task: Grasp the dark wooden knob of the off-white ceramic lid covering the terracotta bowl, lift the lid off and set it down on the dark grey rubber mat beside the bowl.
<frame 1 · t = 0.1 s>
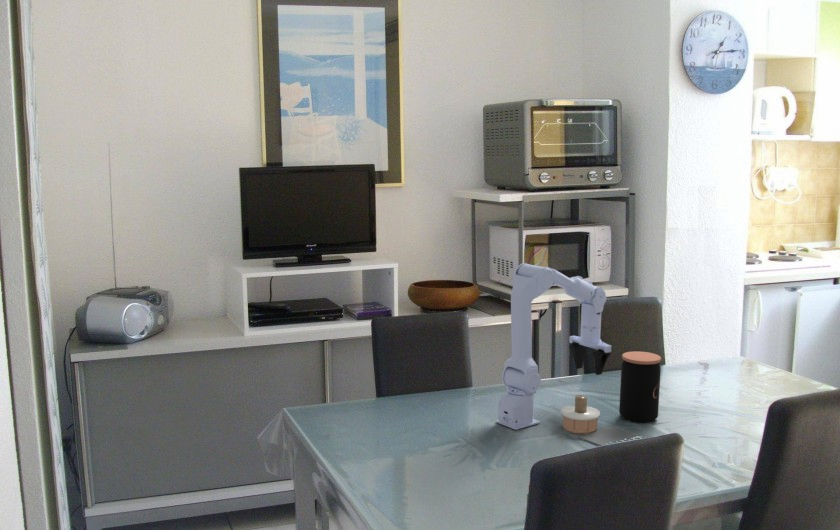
hand: (588, 371, 251), 10 cm above the table, fingers open, 7 cm apart
mat: (612, 438, 224), on the table
coffee jar: (638, 418, 241), on the table
bowl: (579, 428, 232), on the table
lid: (580, 414, 231), point 4 cm above the table, touching bowl
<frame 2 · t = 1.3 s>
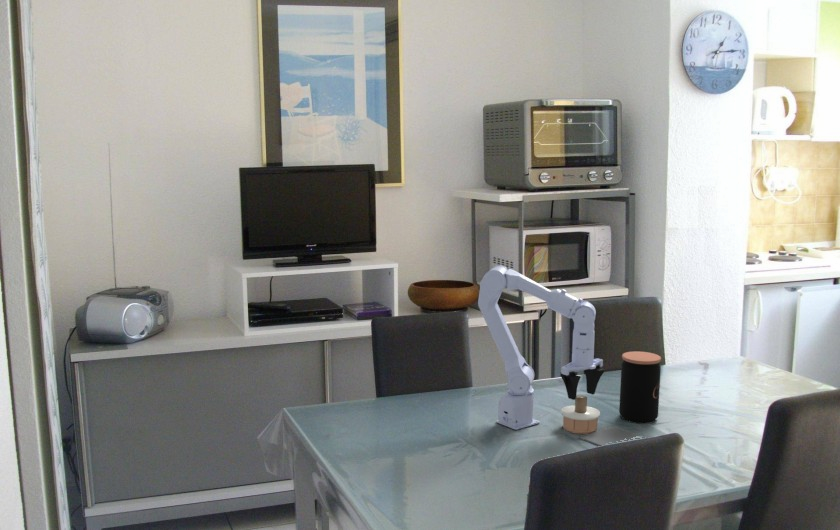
hand: (581, 396, 230), 9 cm above the table, fingers open, 7 cm apart
nothing on the table moved.
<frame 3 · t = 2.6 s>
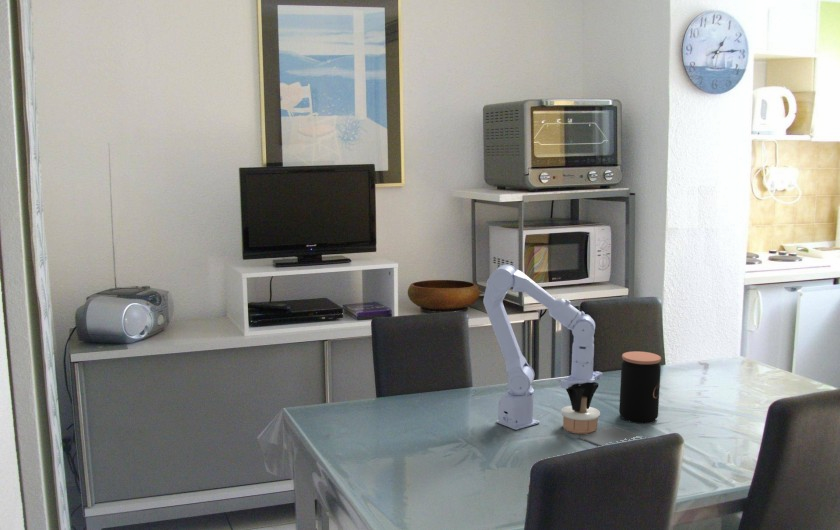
hand: (580, 409, 231), 5 cm above the table, fingers closed on lid, 3 cm apart
lid: (580, 414, 231), point 4 cm above the table, touching bowl, gripper
everything else where it was.
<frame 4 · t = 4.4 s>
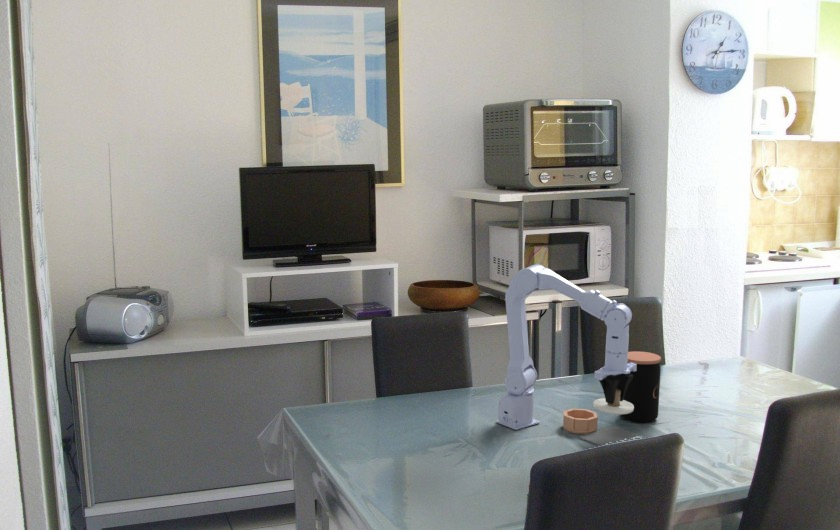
hand: (614, 401, 222), 10 cm above the table, fingers closed on lid, 3 cm apart
lid: (613, 407, 223), point 8 cm above the table, touching gripper
everything else where it was.
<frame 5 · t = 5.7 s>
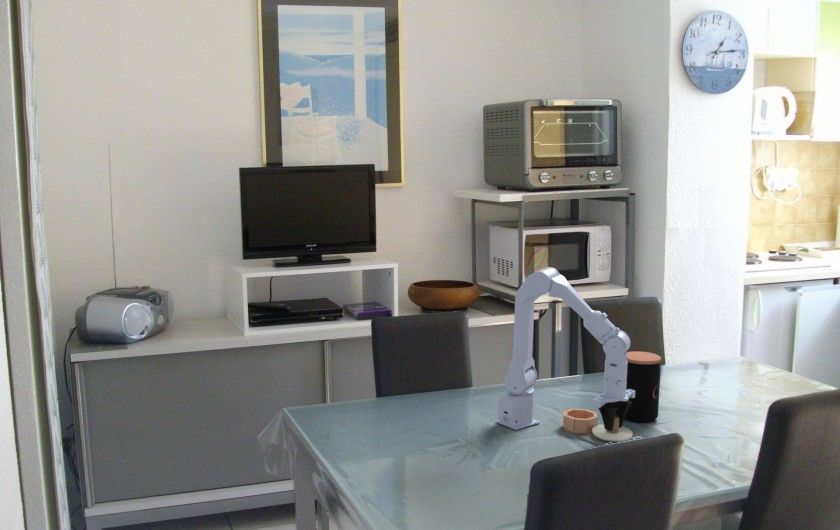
hand: (613, 428, 224), 3 cm above the table, fingers closed on lid, 3 cm apart
lid: (612, 434, 224), point 1 cm above the table, touching gripper
everything else where it was.
when the fingers open (3 cm above the table, at t = 6.4 s): lid stays where it is, resting on mat.
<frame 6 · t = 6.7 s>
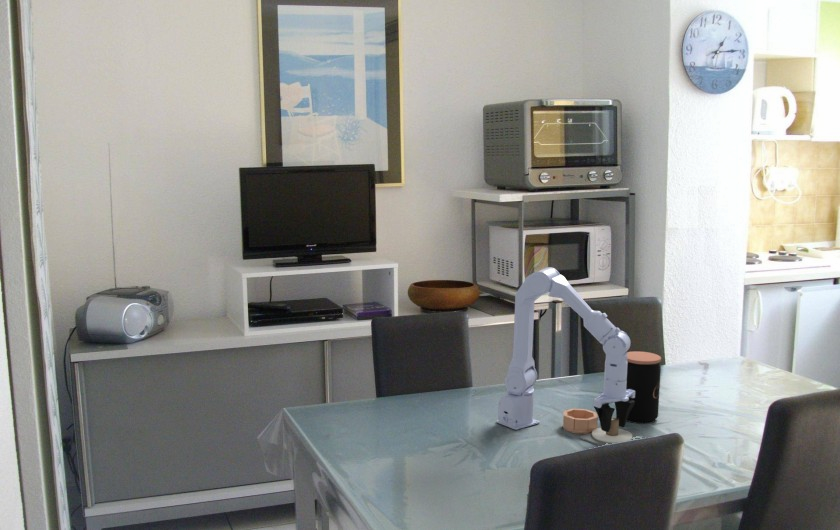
hand: (613, 428, 224), 3 cm above the table, fingers open, 6 cm apart
lid: (611, 436, 224), resting on mat
everything else where it was.
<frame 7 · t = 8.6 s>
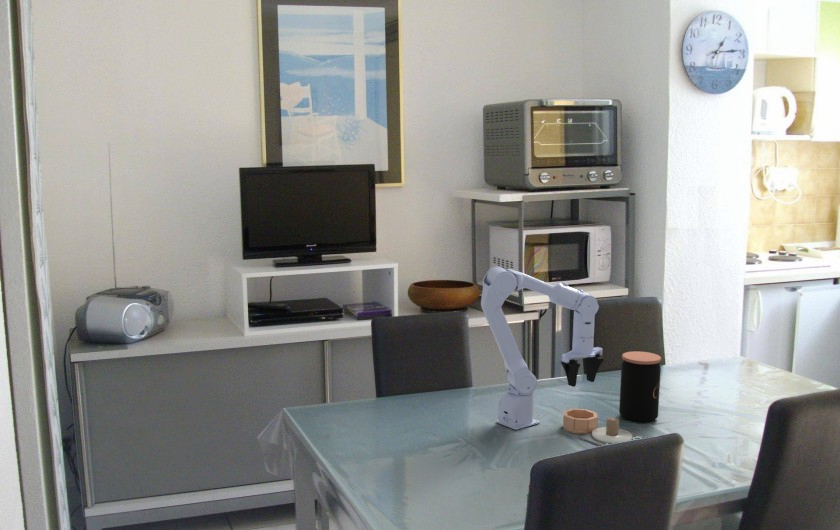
hand: (581, 383, 237), 10 cm above the table, fingers open, 7 cm apart
nothing on the table moved.
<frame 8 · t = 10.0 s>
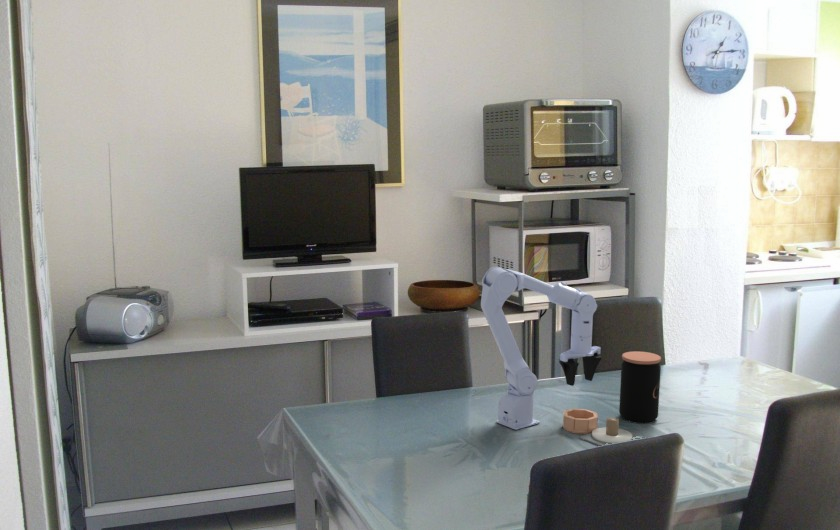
hand: (579, 382, 238), 10 cm above the table, fingers open, 7 cm apart
nothing on the table moved.
at the end: lid inside the target area on the mat (0.3 cm from its centre), point 0.4 cm above the mat's base; lid touching mat; the gripper is holding nothing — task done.
